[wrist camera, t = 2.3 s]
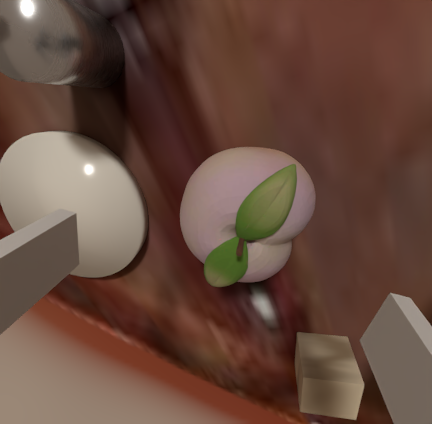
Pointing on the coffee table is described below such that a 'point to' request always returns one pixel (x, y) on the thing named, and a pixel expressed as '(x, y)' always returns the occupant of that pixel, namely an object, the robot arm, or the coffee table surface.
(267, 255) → the decorative fruit
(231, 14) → the coffee table surface
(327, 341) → the birch cube
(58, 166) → the cream plate
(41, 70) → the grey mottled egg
